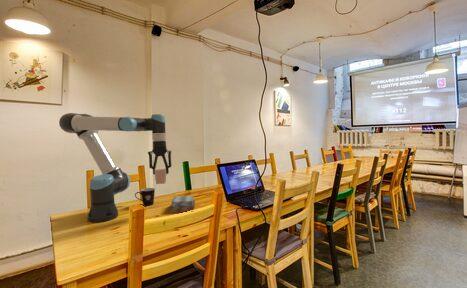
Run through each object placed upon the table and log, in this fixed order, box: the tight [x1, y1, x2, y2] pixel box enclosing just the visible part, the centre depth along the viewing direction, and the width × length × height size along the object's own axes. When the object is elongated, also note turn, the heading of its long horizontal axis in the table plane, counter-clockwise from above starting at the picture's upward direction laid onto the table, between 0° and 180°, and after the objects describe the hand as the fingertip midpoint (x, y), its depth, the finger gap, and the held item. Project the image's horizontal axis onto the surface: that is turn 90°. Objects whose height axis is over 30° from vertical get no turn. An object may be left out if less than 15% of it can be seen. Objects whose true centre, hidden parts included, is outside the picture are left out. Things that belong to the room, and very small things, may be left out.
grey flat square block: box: [169, 195, 196, 213], centre depth 151 cm, size 14×14×6 cm
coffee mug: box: [134, 187, 156, 207], centre depth 161 cm, size 12×9×10 cm
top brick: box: [155, 168, 167, 185], centre depth 145 cm, size 5×5×8 cm
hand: (161, 179), depth 146 cm, fingers closed on top brick, 5 cm apart
